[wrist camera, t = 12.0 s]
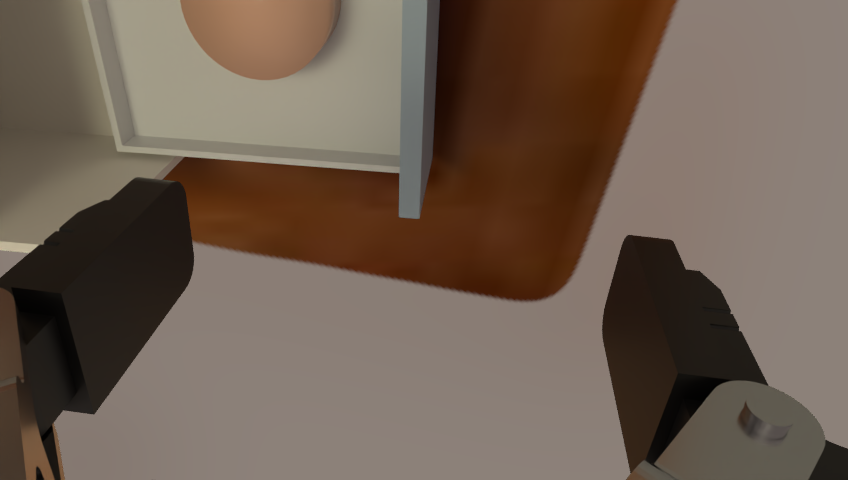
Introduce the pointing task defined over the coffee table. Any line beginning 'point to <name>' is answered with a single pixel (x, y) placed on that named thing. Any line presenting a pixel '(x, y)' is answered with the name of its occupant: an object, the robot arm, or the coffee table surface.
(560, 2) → the coffee table surface
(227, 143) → the tray
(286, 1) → the tan dome knob
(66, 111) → the beige shelf
